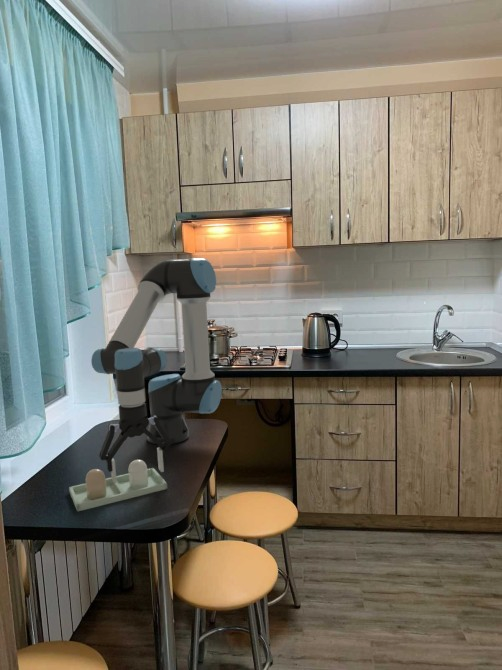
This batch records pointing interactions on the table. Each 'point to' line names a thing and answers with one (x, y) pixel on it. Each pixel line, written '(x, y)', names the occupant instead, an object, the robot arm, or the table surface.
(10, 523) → the table surface
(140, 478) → the egg white
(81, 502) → the green divided tray
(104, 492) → the egg brown
